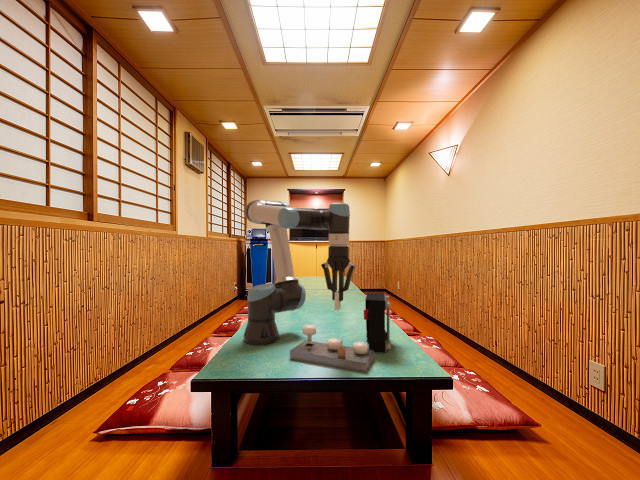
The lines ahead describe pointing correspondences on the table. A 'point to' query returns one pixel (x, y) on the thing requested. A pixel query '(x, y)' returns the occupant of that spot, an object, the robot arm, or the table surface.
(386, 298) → the electrical component
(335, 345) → the knob mid
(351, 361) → the plate
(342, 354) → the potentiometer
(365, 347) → the knob outer
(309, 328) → the knob
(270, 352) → the table surface
